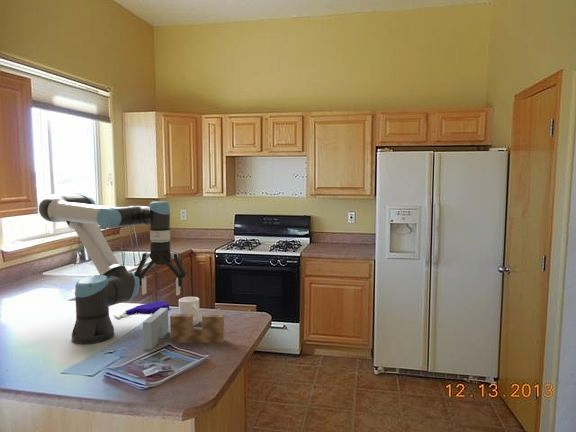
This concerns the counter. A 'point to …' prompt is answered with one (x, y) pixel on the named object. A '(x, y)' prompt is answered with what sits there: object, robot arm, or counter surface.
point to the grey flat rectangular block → (155, 328)
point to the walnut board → (197, 329)
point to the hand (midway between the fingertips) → (161, 294)
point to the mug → (190, 307)
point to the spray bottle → (143, 309)
